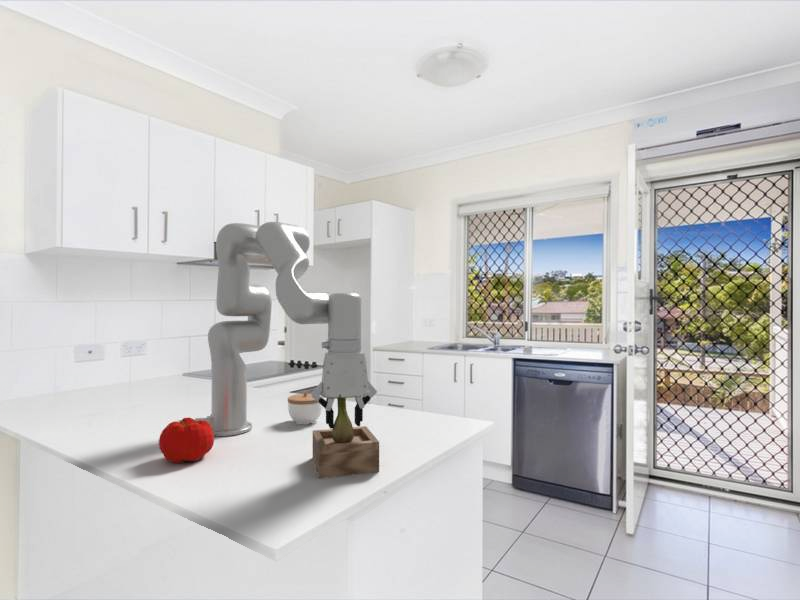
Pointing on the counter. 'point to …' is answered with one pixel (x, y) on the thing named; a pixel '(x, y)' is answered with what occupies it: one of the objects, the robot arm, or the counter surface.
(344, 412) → the fennel bulb
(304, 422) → the lidded jar
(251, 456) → the counter surface
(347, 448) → the open walnut box
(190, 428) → the tomato
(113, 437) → the counter surface
